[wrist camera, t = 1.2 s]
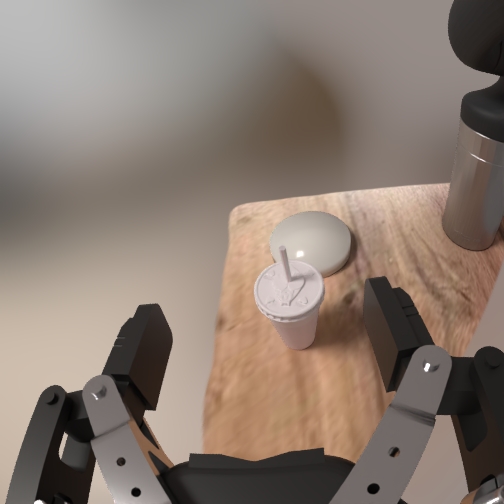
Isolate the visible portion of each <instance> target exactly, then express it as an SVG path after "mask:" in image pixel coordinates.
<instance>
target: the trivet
mask: <svg viewBox="0 0 504 504" xmlns="http://www.w3.org/2000/svg"><path fill="white" fill-rule="evenodd" d="M350 244H351V236H350V232H349V229H348V227H347V226H346V225H345V223H344V222H343V221H342V220H340V219H339V218H338V217H336V216H334V215H331V214H329V213H325V212H318V211H308V212H302V213H298V214H295V215H292V216H290V217H288V218H286V219H284V220H283V221H282V222H280V223H279V224H278V225H277V226H276V227H275V229H274V230H273V232H272V234H271V237H270V249H271V253H272V257H273V261H274V263H277V262H280V261H281V256H280V252H279V247H280V246H281V245H284V246H285V247H286V252H287V257H288V260H301V261H305V262H307V263H310V264H311V265H313V266H314V267H315V268H317V269H318V271H319V272H320V273H321V275H322V278H325V277H327V276H330V275H332V274H334V273H335V272H337V271H338V270H340V269H341V268H342V267H343V266H344V264H345V263H346V262H347V260H348V258H349V255H350Z"/></svg>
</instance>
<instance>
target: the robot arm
mask: <svg viewBox="0 0 504 504" xmlns="http://www.w3.org/2000/svg"><path fill="white" fill-rule="evenodd" d="M448 34H449V40H450V43H451V46H452V48H453V51H454V52H455V54H456V56H457V57H458V58H459V59H460V60H461V61H462V62H463V63H464V64H465V65H467V66H469V67H471V68H473V69H475V70H478V71H481V72H486V73H490V74H495V75H498V76H500V78H499V80H498V81H497V82H496V83H495V84H494V85H492V86H490V87H488V88H485V89H482V90H477V91H473V92H469V93H467V94H466V95H465V96H464V97H463V99H462V104H461V114H460V124H459V133H458V142H457V149H456V155H455V161H454V168H453V173H452V178H451V184H450V189H449V193H448V198H447V202H446V206H445V211H444V215H443V219H442V225H443V229H444V231H445V233H446V234H447V235H448V237H449V238H450V239H451V240H452V241H453V242H455V243H456V244H458V245H459V246H461V247H463V248H466V249H469V250H484V249H486V248H488V247H489V246H490V245H491V244H492V243H493V240H494V238H495V236H496V233H497V231H498V228H499V226H500V223H501V221H502V218H503V215H504V0H454V2H453V4H452V7H451V10H450V14H449V21H448ZM363 316H364V322H365V326H366V329H367V332H368V335H369V338H370V341H371V344H372V347H373V350H374V353H375V356H376V360H377V363H378V366H379V369H380V372H381V376H382V379H383V382H384V386H385V389H386V393H387V392H391V391H396V394H395V396H394V398H393V400H392V402H391V404H390V405H389V406H388V408H387V410H386V412H385V414H384V416H383V418H382V419H381V421H380V423H379V425H378V427H377V429H376V431H375V432H374V434H373V436H372V438H371V439H370V441H369V443H368V445H367V446H366V448H365V450H364V451H363V453H362V455H361V456H360V458H359V460H358V461H357V463H356V464H355V463H353V462H351V461H349V460H347V459H343V458H340V457H336V456H330V455H324V448H317V449H309V450H301V451H291V452H287V453H284V454H280V455H277V456H274V457H270V458H267V459H263V460H259V461H248V460H244V459H239V458H234V457H230V456H226V455H222V454H192V453H191V454H190V457H189V461H187V462H183V463H180V464H178V465H175V466H174V464H173V463H172V462H171V461H170V460H169V459H168V457H167V456H166V454H165V453H164V451H163V450H162V448H161V446H160V445H159V443H158V441H157V439H156V438H155V436H154V434H153V432H152V431H151V429H150V427H149V425H148V423H147V421H146V419H145V418H144V417H143V416H144V412H145V410H153V411H155V410H156V407H157V403H158V398H159V394H160V390H161V386H162V382H163V378H164V374H165V370H166V366H167V363H168V359H169V355H170V351H171V348H172V343H173V338H172V332H171V329H170V327H169V325H168V323H167V321H166V319H165V316H164V314H163V312H162V310H161V308H160V306H159V305H158V304H146V305H139V306H138V308H137V310H136V313H135V315H134V317H133V318H129V319H128V321H127V322H126V323H125V324H124V325H123V326H122V327H121V330H120V332H119V334H118V336H117V337H118V338H117V339H116V341H115V343H114V347H113V348H112V350H111V353H110V356H109V357H108V360H107V362H106V365H105V367H104V369H103V372H102V374H101V375H99V376H96V377H93V378H92V379H91V380H89V381H88V382H87V384H86V385H85V387H84V388H83V390H80V391H75V392H71V393H67V392H66V391H65V390H64V389H63V388H62V387H61V386H58V385H53V386H50V387H48V388H47V389H45V390H44V391H43V392H42V394H41V395H40V398H39V400H38V402H37V405H36V407H35V410H34V413H33V415H32V418H31V420H30V423H29V426H28V429H27V432H26V434H25V437H24V440H23V443H22V446H21V449H20V452H19V455H18V459H17V462H16V465H15V469H14V472H13V475H12V479H11V483H10V487H9V490H8V494H7V499H6V503H5V504H87V503H88V498H89V492H90V487H91V482H92V476H93V472H94V467H95V462H96V459H97V462H98V465H99V467H100V470H101V472H102V474H103V477H104V479H105V481H106V484H107V486H108V489H109V491H110V493H111V495H112V497H113V500H114V501H115V504H407V503H406V502H405V501H403V500H402V499H401V496H402V494H403V492H404V490H405V488H406V487H407V484H408V483H409V481H410V479H411V477H412V475H413V473H414V471H415V469H416V467H417V465H418V462H419V461H420V458H421V456H422V454H423V452H424V449H425V447H426V445H427V443H428V440H429V438H430V435H431V433H432V430H433V428H434V424H435V421H436V420H435V416H436V415H451V418H452V422H453V426H454V429H455V433H456V437H457V441H458V444H459V449H460V453H461V457H462V461H463V465H464V470H465V475H466V480H467V485H468V491H469V494H467V495H466V496H465V497H464V498H463V500H462V501H461V503H460V504H504V353H503V352H502V351H501V350H499V349H497V348H495V347H491V346H487V347H483V348H481V349H479V350H478V351H477V352H476V354H475V356H474V357H452V356H450V355H449V354H448V352H447V351H446V350H444V349H443V348H441V347H439V346H435V344H434V342H433V340H432V338H431V336H430V334H429V332H428V330H427V328H426V326H425V324H424V322H423V320H422V318H421V316H420V315H419V312H418V310H417V309H416V307H415V306H414V303H413V301H412V299H411V297H410V296H409V294H407V293H406V292H405V291H404V290H402V289H401V288H400V287H398V288H392V287H391V285H390V283H389V281H388V279H387V278H386V277H385V276H382V277H376V278H369V279H366V281H365V291H364V305H363ZM64 432H65V433H66V434H68V437H67V440H66V444H65V448H64V451H63V455H62V458H61V459H60V457H59V448H60V444H61V441H62V438H63V434H64Z"/></svg>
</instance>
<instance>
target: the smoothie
mask: <svg viewBox="0 0 504 504" xmlns="http://www.w3.org/2000/svg"><path fill="white" fill-rule="evenodd" d="M279 252H280V256H281V261H280V262H277V263H274V264H272V265H271V266H269V267H267V268H266V269H265V270H264V271H263V272H262V273H261V274H260V275H259V277H258V278H257V280H256V283H255V286H254V296H255V300H256V304H257V307H258V308H259V310H260V311H261V313H263V314H264V315H265V316H266V317H268V318H269V319H270V321H271V323H272V324H273V326H274V327H275V329H276V330H277V332H278V334H279V335H280V337H281V338H282V340H283V341H284V343H285V344H286V346H288V347H289V348H291V349H294V350H302V349H305V348H307V347H309V346H310V345H311V344H312V343H313V341H314V338H315V333H316V327H317V320H318V314H319V307H320V305H321V303H322V302H323V299H324V295H325V287H324V281H323V278H322V275H321V273H320V272H319V271H318V269H317V268H315V267H314V266H313V265H311V264H310V263H307V262H305V261H301V260H288V257H287V252H286V247H285V246H284V245H281V246H280V247H279Z"/></svg>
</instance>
